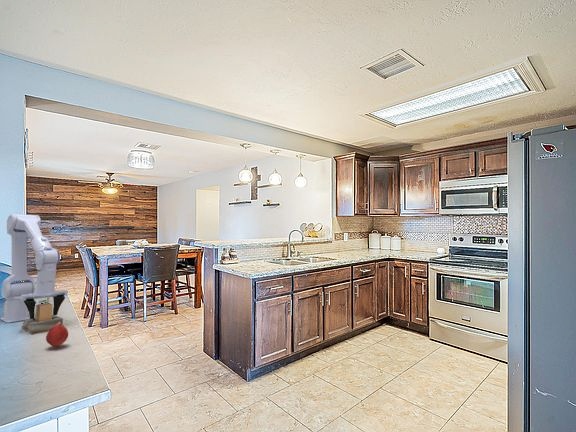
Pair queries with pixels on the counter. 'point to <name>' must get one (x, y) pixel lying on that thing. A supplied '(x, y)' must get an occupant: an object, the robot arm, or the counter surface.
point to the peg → (43, 312)
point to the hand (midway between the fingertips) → (43, 316)
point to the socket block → (40, 324)
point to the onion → (57, 335)
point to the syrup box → (40, 300)
